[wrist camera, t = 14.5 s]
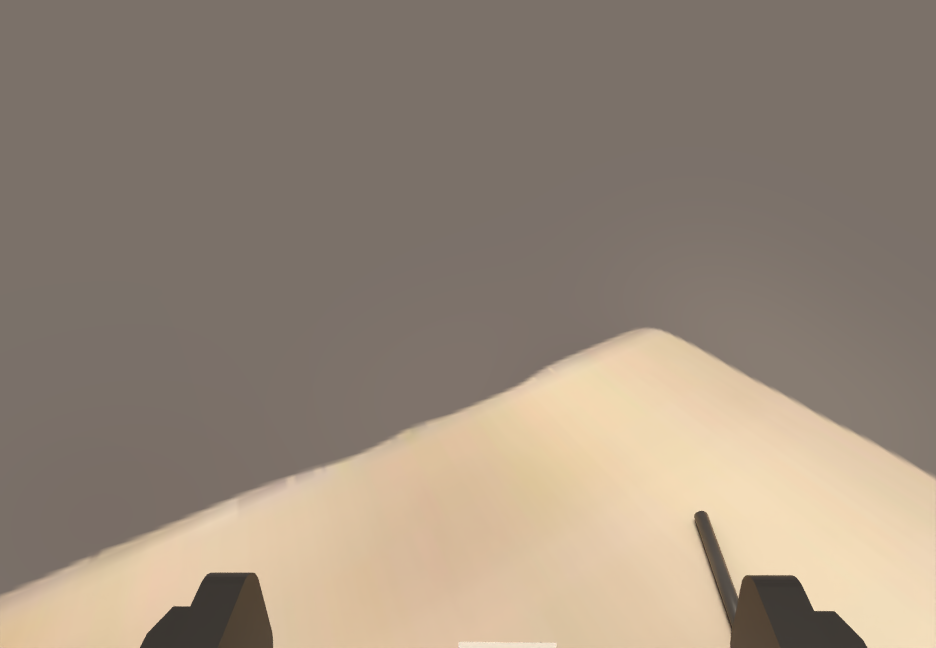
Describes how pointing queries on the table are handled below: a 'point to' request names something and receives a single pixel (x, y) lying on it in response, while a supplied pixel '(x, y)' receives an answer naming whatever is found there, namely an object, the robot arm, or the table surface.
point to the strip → (717, 564)
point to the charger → (505, 645)
